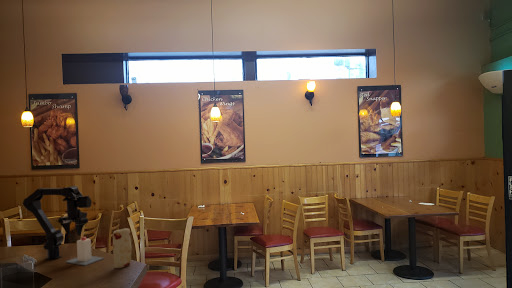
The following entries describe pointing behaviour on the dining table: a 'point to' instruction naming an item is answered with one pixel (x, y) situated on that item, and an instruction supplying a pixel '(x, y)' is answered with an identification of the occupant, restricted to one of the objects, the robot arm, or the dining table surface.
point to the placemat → (90, 261)
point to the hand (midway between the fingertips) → (73, 235)
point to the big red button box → (84, 249)
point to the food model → (122, 248)
